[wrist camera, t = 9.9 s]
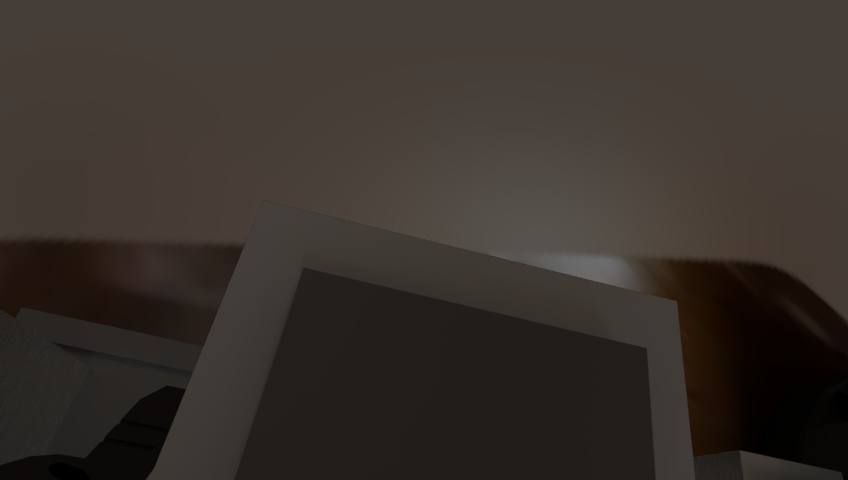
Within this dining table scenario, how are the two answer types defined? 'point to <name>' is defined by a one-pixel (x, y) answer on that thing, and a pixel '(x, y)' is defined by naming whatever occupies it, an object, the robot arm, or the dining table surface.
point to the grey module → (425, 367)
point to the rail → (154, 369)
